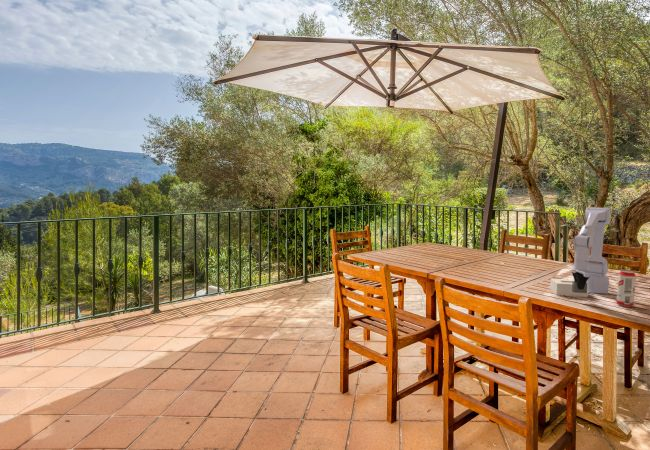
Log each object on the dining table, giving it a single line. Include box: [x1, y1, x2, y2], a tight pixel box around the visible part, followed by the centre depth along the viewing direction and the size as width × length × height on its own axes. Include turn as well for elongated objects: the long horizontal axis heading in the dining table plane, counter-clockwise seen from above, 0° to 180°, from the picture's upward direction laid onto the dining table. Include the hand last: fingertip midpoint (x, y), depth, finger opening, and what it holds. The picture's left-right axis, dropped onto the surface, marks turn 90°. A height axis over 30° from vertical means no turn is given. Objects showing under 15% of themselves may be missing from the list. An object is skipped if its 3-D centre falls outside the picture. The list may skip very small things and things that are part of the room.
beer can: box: [615, 269, 637, 308], centre depth 178 cm, size 6×6×16 cm
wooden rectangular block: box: [572, 281, 587, 293], centre depth 185 cm, size 6×2×5 cm, turn 76°
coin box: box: [549, 278, 589, 298], centre depth 198 cm, size 14×10×6 cm
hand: (579, 288), depth 185 cm, fingers closed on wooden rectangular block, 2 cm apart
